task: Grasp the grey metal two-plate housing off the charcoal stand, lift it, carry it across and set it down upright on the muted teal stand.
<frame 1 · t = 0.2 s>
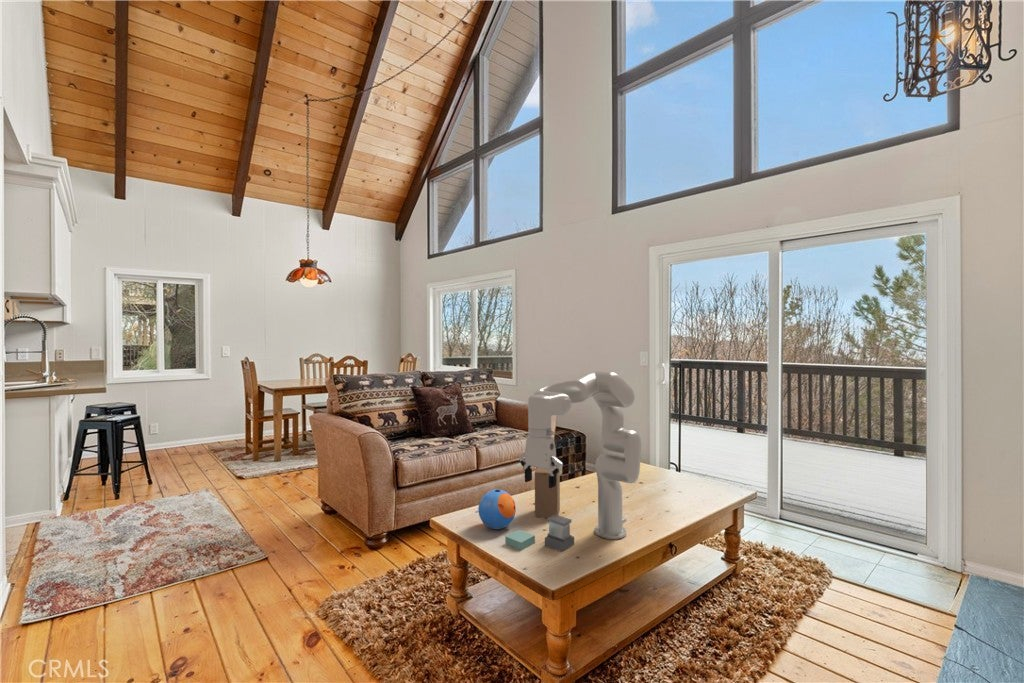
hand: (540, 484, 155), 31 cm above the table, tool pointing down, fingers open, 9 cm apart
stand a: (559, 544, 178), on the table
treat dispenser ball: (497, 527, 195), on the table
stand b: (520, 543, 180), on the table
housing: (559, 537, 178), point 3 cm above the table, touching stand a
wooden block: (547, 514, 209), on the table
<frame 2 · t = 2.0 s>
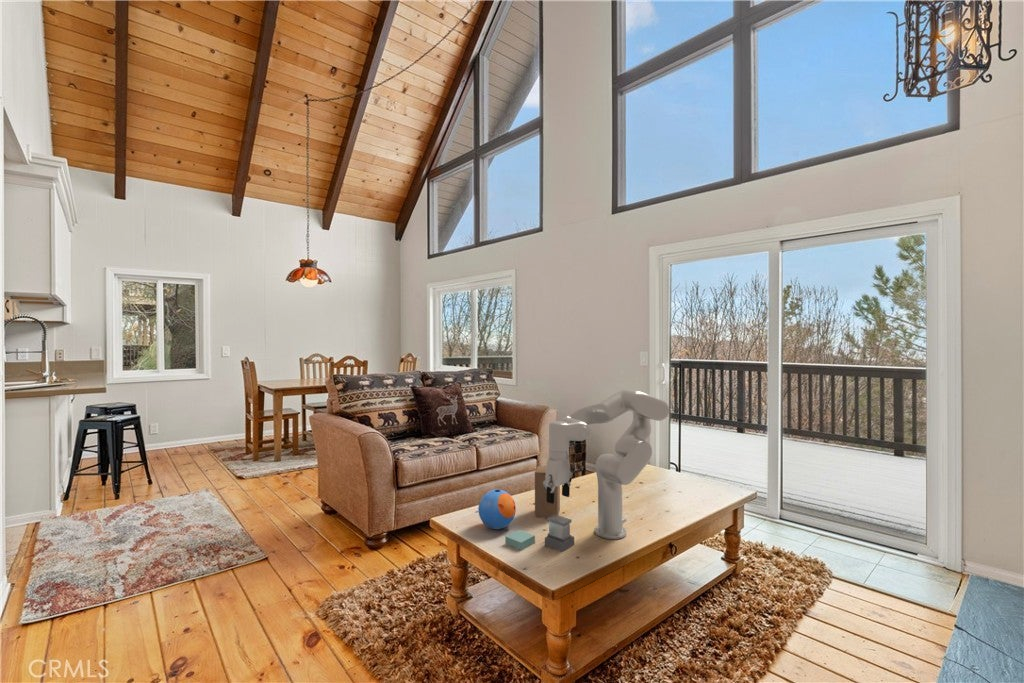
hand: (558, 499, 178), 18 cm above the table, tool pointing down, fingers open, 9 cm apart
nothing on the table moved.
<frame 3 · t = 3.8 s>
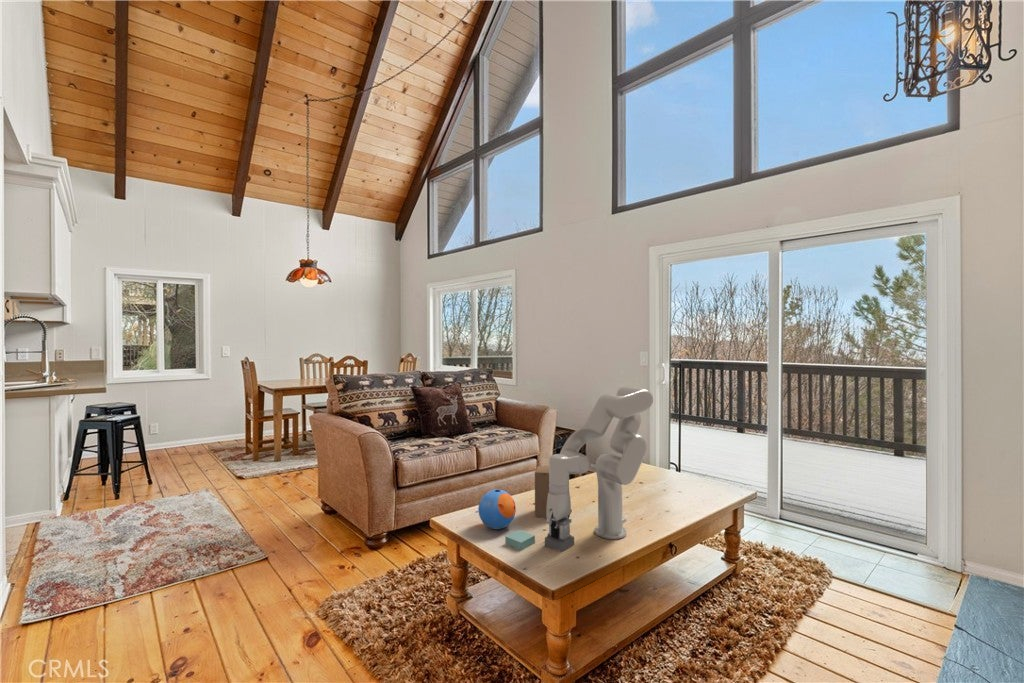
hand: (559, 534, 178), 4 cm above the table, tool pointing down, fingers closed on housing, 5 cm apart
housing: (559, 537, 178), point 3 cm above the table, touching gripper, stand a
everything else where it was.
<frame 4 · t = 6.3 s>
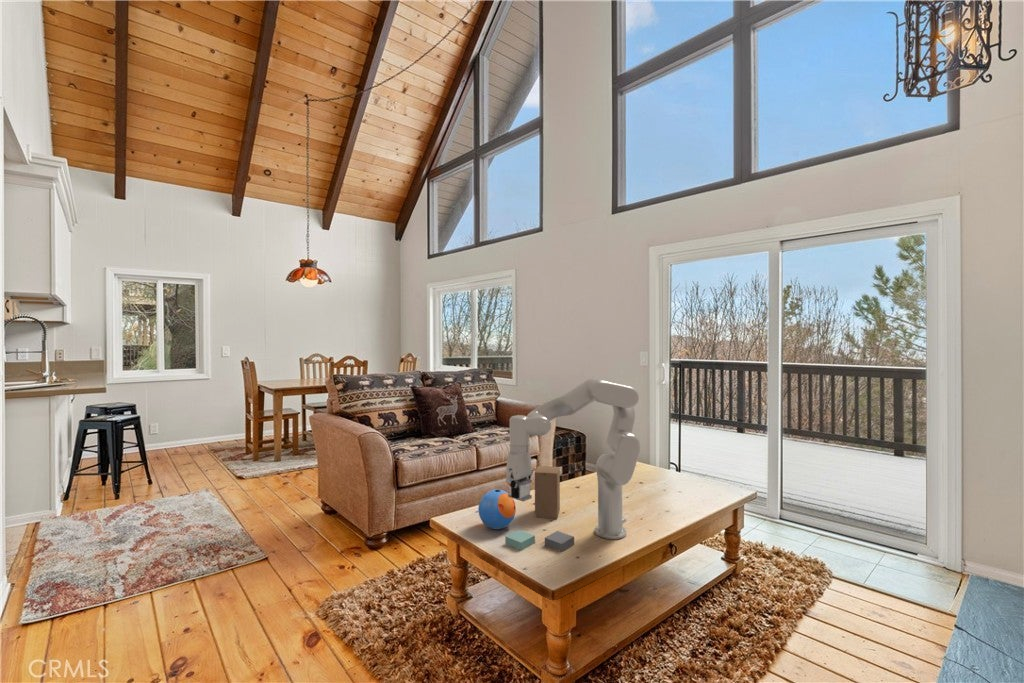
hand: (519, 495, 179), 19 cm above the table, tool pointing down, fingers closed on housing, 5 cm apart
housing: (519, 497, 179), point 18 cm above the table, touching gripper
everything else where it was.
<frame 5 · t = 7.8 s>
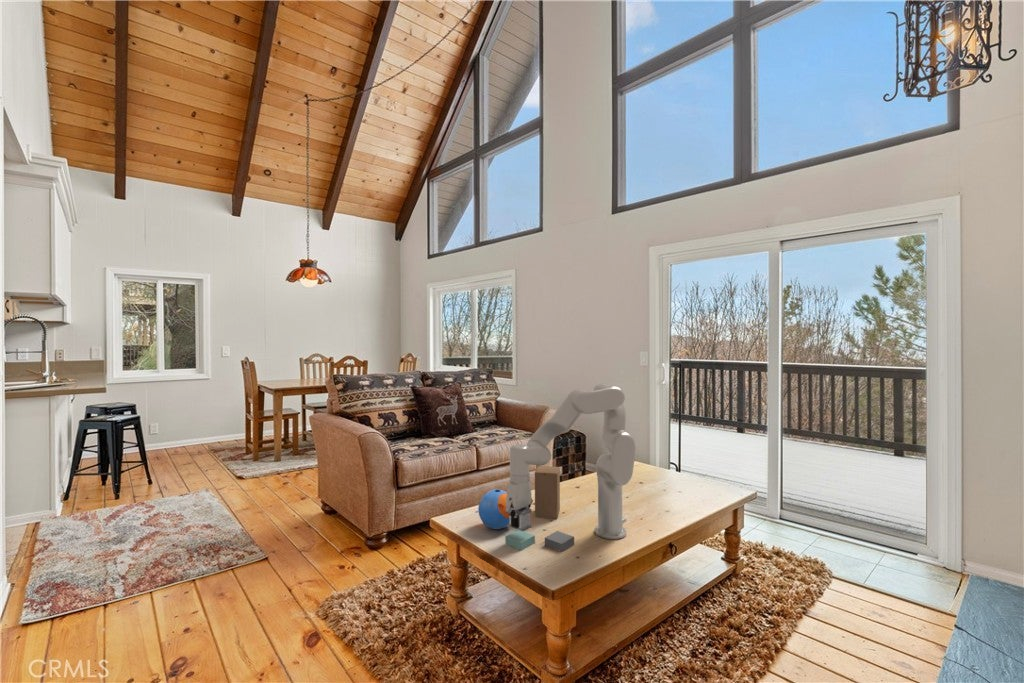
hand: (519, 524, 180), 7 cm above the table, tool pointing down, fingers closed on housing, 5 cm apart
housing: (519, 526, 180), point 7 cm above the table, touching gripper
everything else where it was.
when the fingers open (5 cm above the table, at t = 9.1 s): housing stays where it is, resting on stand b.
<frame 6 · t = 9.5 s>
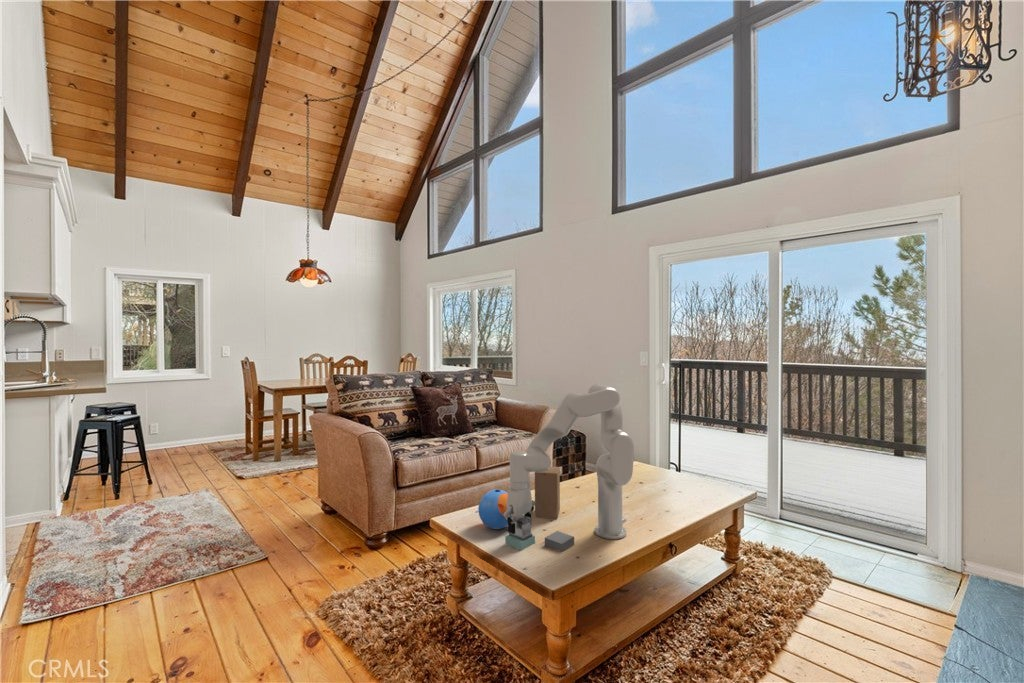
hand: (520, 528, 180), 6 cm above the table, tool pointing down, fingers open, 9 cm apart
housing: (520, 535, 180), point 3 cm above the table, touching stand b
everything else where it was.
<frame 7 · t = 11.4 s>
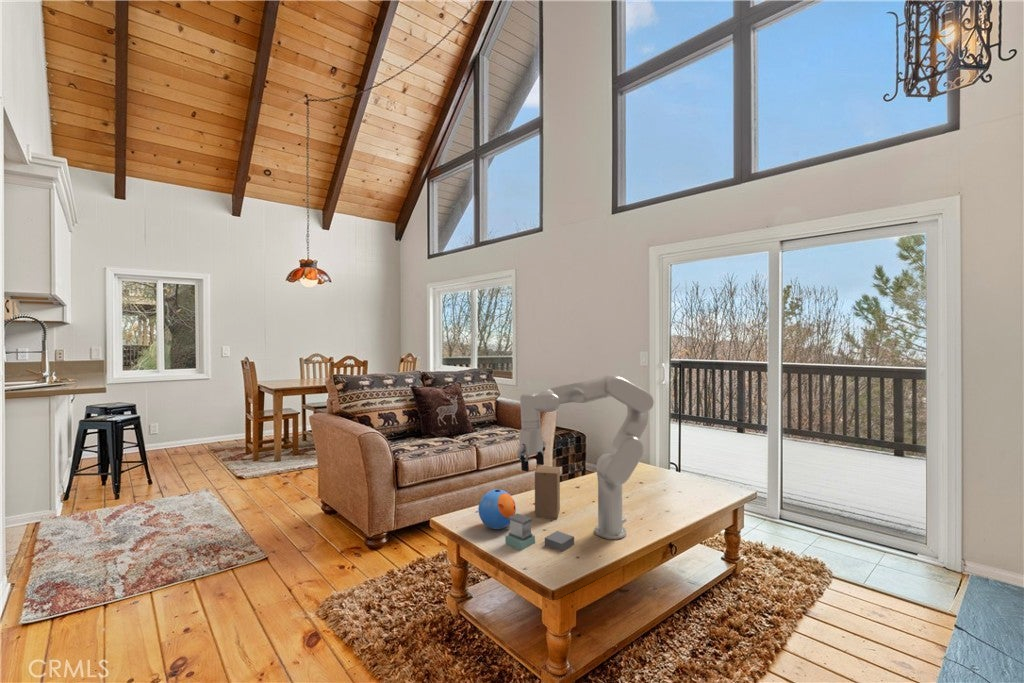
hand: (532, 467, 185), 27 cm above the table, tool pointing down, fingers open, 9 cm apart
nothing on the table moved.
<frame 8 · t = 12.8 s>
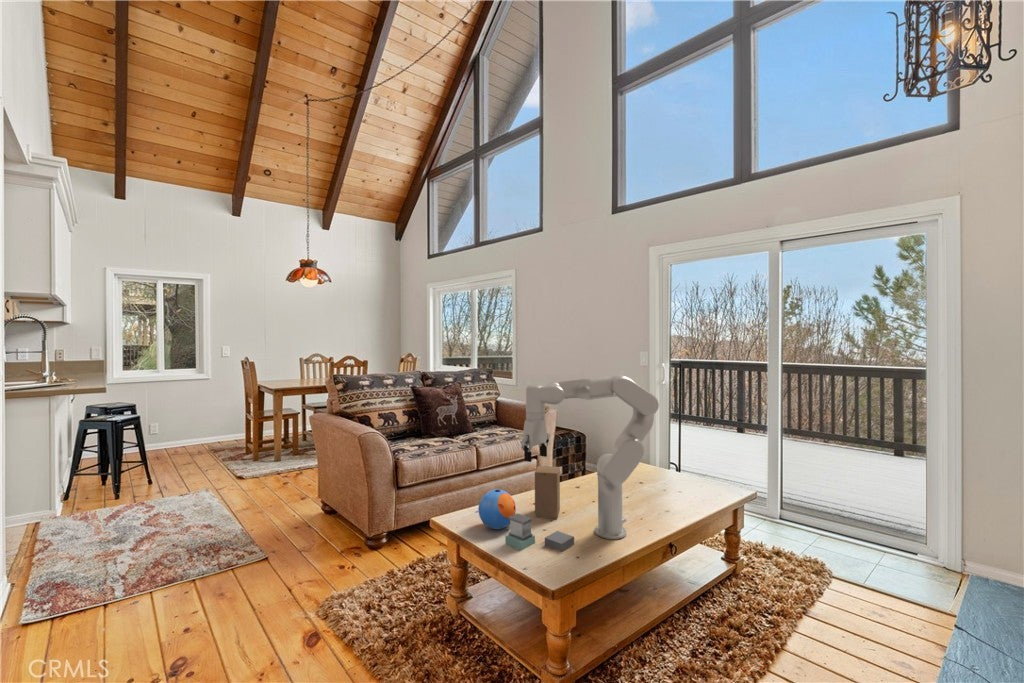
hand: (535, 458, 188), 30 cm above the table, tool pointing down, fingers open, 9 cm apart
nothing on the table moved.
at the end: housing 0.1 cm off-centre on the stand b, point 3.0 cm above the stand b's base; housing tilted 0°; the gripper is holding nothing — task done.
